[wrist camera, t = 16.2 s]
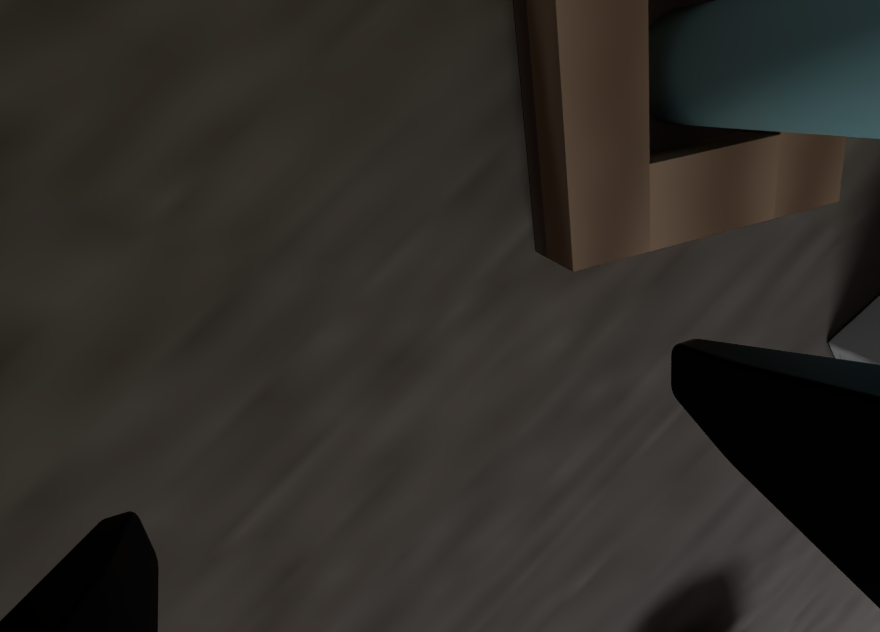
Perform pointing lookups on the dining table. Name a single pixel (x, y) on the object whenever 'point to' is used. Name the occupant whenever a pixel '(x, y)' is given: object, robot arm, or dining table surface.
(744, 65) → the peg
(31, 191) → the dining table surface
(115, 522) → the robot arm
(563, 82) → the socket block
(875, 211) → the dining table surface
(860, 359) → the skincare box
